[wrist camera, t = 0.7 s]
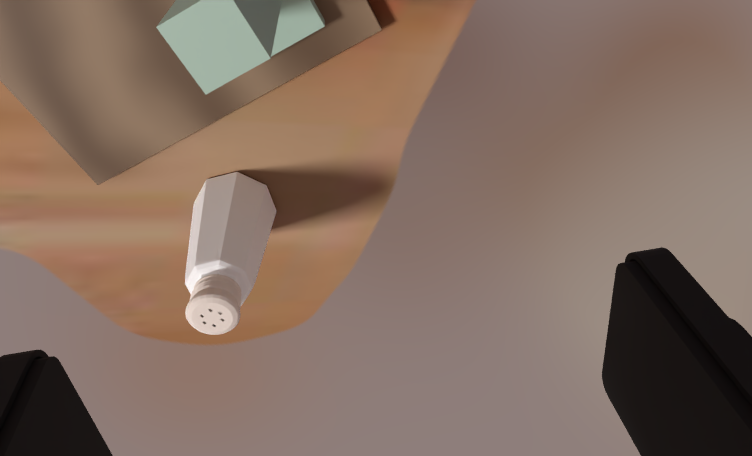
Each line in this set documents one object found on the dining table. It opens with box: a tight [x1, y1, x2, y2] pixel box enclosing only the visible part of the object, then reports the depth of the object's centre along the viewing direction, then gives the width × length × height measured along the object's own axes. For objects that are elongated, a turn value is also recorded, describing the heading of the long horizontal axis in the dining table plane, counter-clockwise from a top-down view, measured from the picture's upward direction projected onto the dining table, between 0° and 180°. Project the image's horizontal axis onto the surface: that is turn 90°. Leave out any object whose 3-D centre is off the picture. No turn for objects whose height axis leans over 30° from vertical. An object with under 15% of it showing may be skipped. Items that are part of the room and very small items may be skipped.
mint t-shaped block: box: [156, 0, 325, 94], centre depth 28 cm, size 5×8×11 cm, turn 28°
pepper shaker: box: [185, 172, 277, 335], centre depth 37 cm, size 5×5×11 cm
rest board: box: [0, 0, 382, 185], centre depth 34 cm, size 20×12×1 cm, turn 118°
